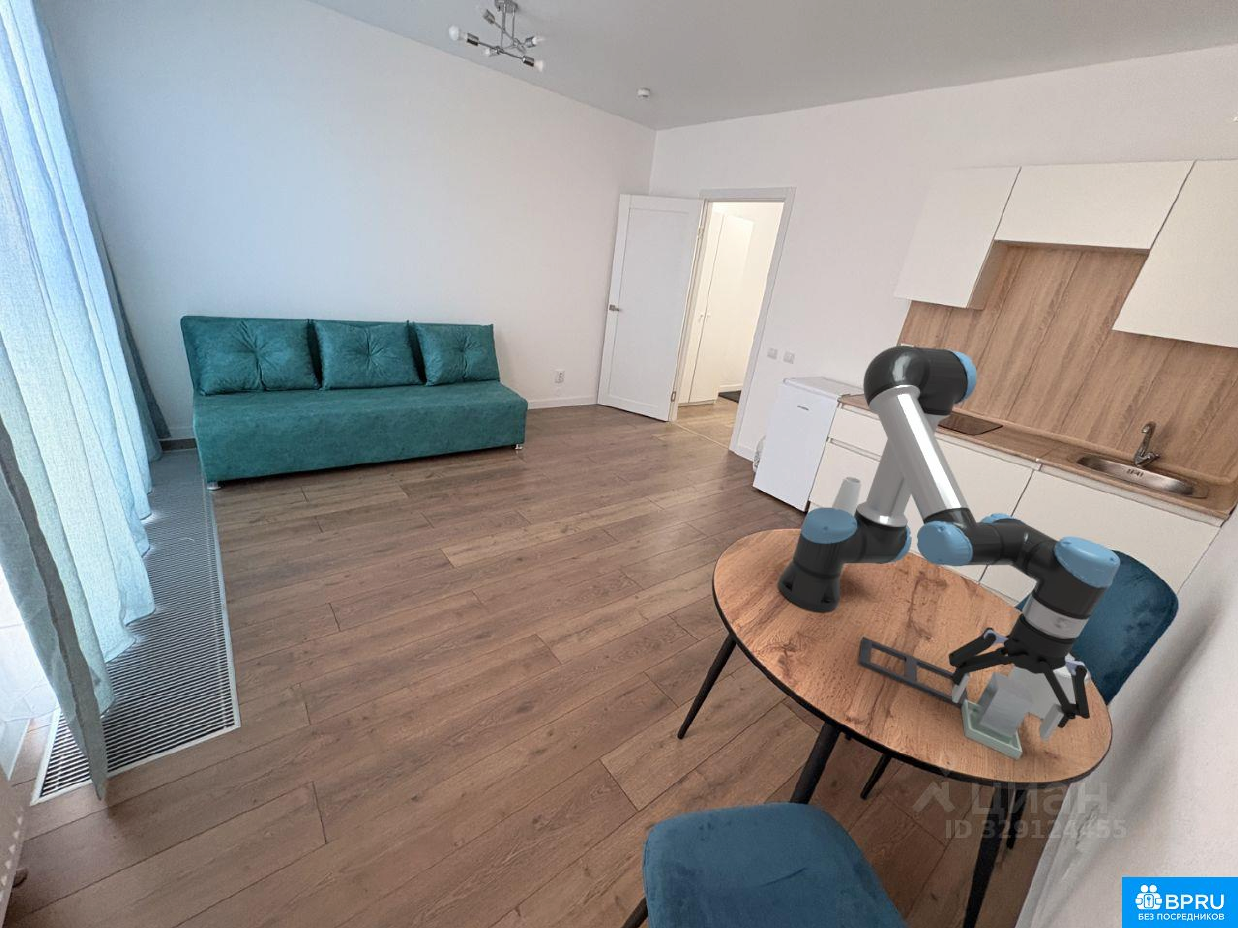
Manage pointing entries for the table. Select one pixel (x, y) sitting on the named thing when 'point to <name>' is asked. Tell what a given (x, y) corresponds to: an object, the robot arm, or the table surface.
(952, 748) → the table surface
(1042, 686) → the mug
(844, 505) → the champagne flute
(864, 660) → the double window frame
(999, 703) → the grey rectangular block
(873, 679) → the table surface
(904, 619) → the table surface
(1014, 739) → the tray
